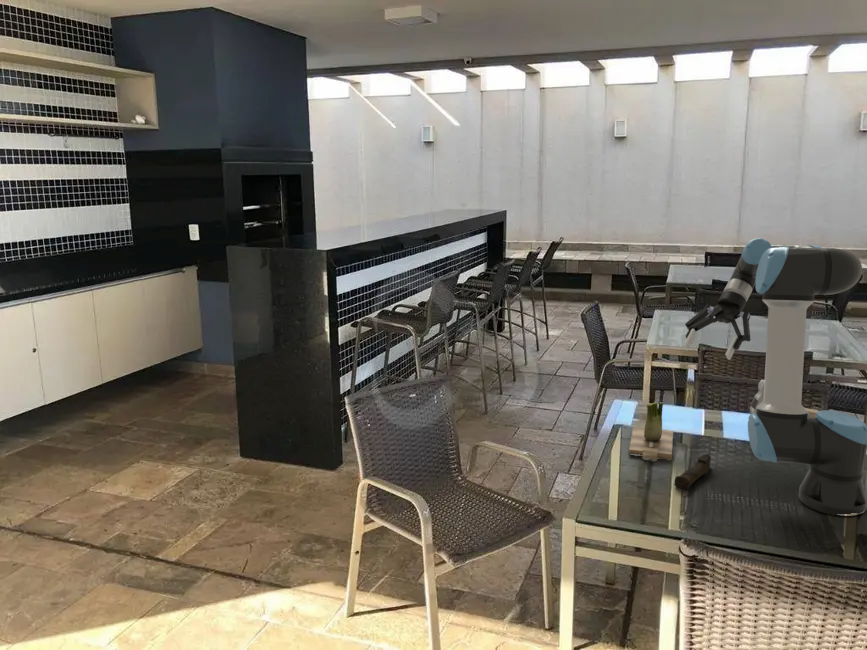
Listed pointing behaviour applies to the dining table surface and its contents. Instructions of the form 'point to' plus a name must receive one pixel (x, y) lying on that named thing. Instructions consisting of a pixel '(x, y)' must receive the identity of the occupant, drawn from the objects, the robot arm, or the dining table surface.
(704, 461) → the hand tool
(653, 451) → the tan wooden board
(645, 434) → the fennel bulb
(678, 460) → the dining table surface
